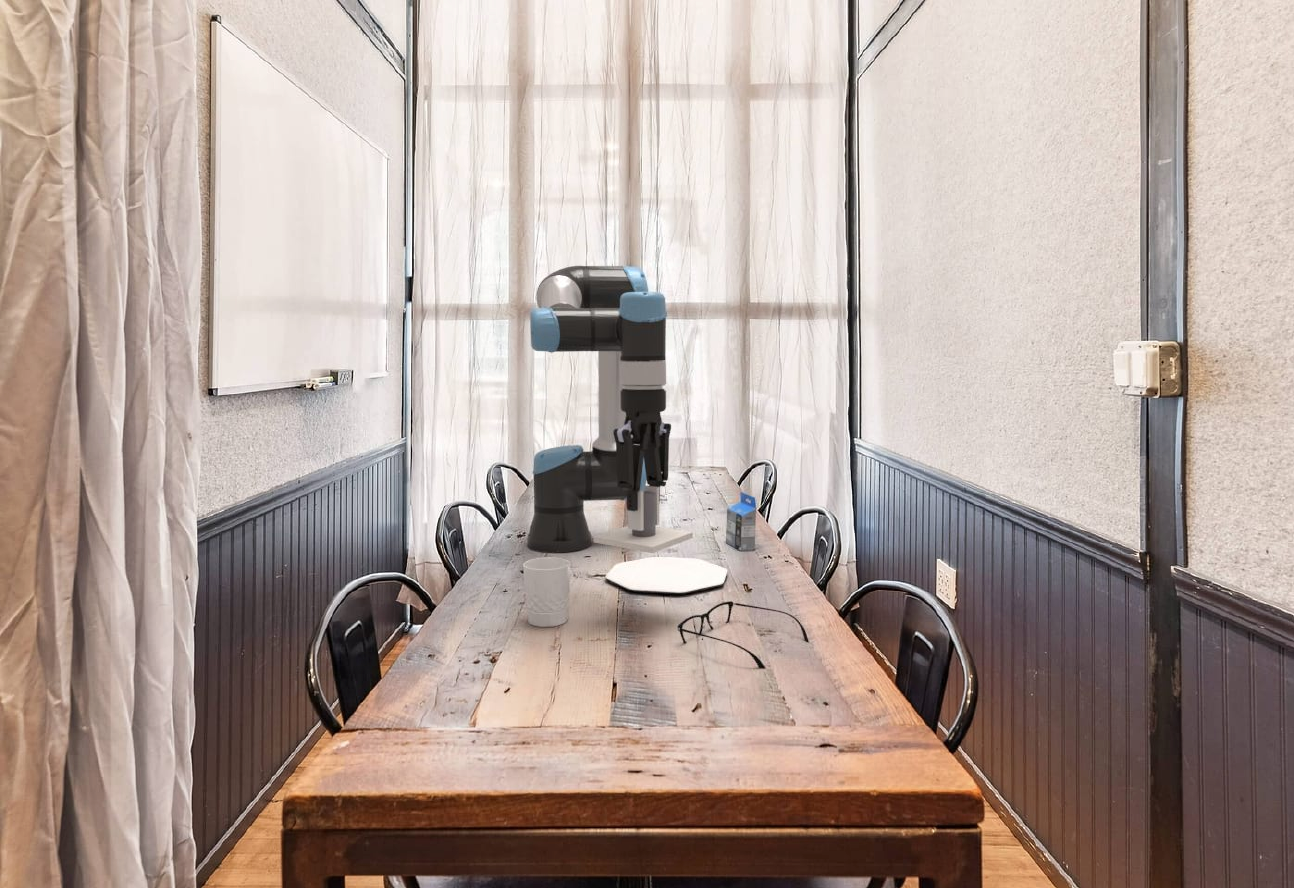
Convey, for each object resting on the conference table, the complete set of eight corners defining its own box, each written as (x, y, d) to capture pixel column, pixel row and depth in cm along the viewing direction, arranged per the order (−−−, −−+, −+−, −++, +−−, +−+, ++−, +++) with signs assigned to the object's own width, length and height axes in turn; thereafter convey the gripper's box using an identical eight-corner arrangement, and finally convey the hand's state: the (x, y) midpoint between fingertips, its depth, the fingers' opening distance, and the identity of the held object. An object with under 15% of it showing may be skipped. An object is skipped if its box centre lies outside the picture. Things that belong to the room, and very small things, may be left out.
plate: (719, 602, 140) (719, 594, 139) (595, 594, 144) (595, 587, 144) (731, 566, 163) (731, 560, 162) (623, 561, 167) (623, 555, 167)
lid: (635, 528, 137) (635, 484, 136) (692, 537, 130) (692, 491, 129) (593, 542, 127) (593, 495, 126) (652, 553, 120) (652, 503, 119)
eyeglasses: (731, 620, 130) (731, 597, 130) (815, 641, 120) (815, 617, 120) (671, 648, 118) (671, 623, 117) (760, 675, 108) (760, 648, 107)
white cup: (563, 630, 125) (561, 570, 123) (517, 627, 126) (516, 568, 125) (577, 614, 132) (576, 558, 131) (533, 611, 134) (532, 556, 133)
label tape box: (725, 542, 182) (725, 492, 181) (740, 541, 183) (741, 491, 182) (740, 551, 174) (740, 498, 172) (756, 550, 175) (757, 497, 174)
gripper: (653, 385, 134) (654, 515, 137) (592, 389, 121) (594, 533, 123) (689, 386, 130) (689, 520, 133) (630, 390, 116) (631, 540, 119)
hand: (643, 526), depth 128 cm, fingers closed on lid, 4 cm apart
